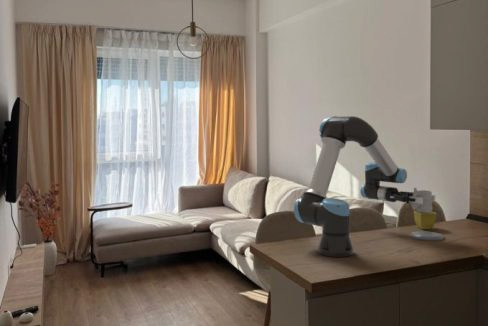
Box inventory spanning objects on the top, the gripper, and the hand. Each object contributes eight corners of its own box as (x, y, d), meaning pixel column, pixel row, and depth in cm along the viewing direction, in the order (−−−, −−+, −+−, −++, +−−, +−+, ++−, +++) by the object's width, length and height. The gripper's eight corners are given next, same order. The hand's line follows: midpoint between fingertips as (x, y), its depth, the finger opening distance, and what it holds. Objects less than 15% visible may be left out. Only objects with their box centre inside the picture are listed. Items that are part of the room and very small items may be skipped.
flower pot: (412, 226, 251) (413, 210, 251) (428, 226, 252) (428, 210, 252) (420, 230, 243) (421, 213, 242) (436, 230, 244) (437, 213, 243)
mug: (436, 211, 224) (436, 187, 223) (417, 214, 220) (417, 189, 219) (424, 209, 231) (425, 185, 230) (405, 211, 227) (406, 187, 226)
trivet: (415, 240, 222) (415, 238, 222) (407, 233, 237) (407, 231, 237) (447, 241, 221) (448, 238, 221) (437, 233, 236) (437, 231, 236)
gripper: (400, 198, 246) (440, 204, 230) (375, 204, 231) (415, 210, 215) (401, 184, 246) (441, 189, 229) (375, 189, 231) (416, 194, 214)
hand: (428, 199), depth 222 cm, fingers closed on mug, 11 cm apart
